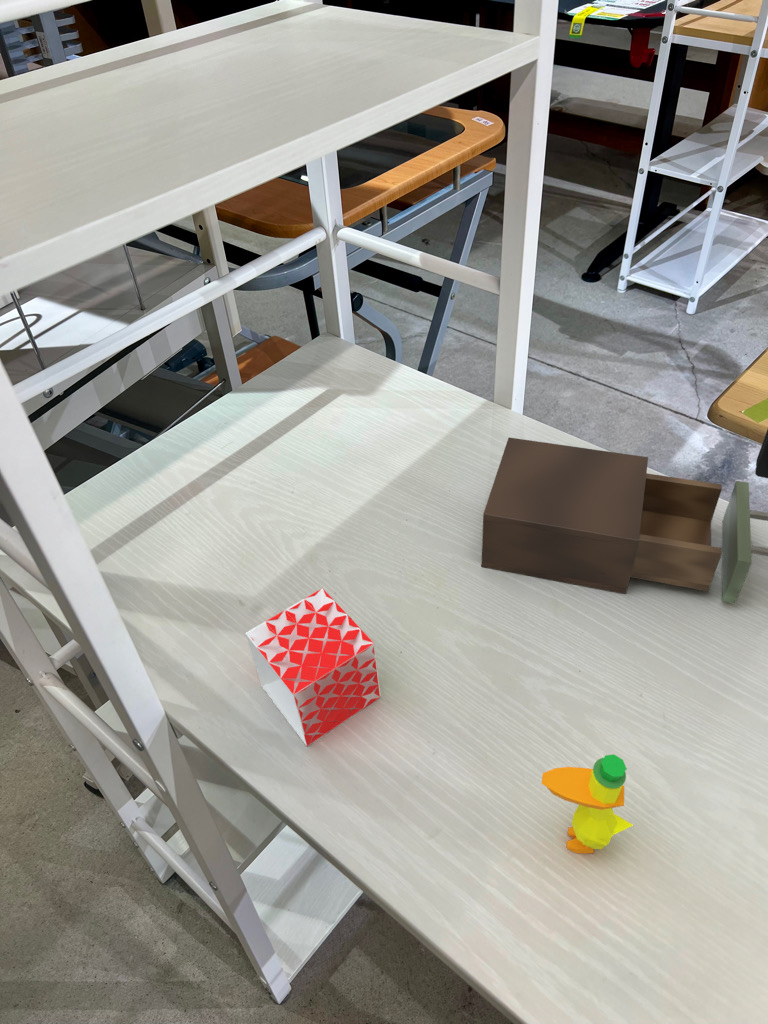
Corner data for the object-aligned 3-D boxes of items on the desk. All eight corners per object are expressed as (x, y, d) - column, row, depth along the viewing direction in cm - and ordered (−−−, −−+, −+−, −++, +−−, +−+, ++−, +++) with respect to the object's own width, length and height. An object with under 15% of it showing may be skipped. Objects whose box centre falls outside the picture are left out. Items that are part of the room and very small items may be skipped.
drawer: (784, 531, 77) (802, 490, 73) (791, 614, 70) (812, 573, 66) (602, 502, 82) (610, 462, 78) (590, 577, 75) (598, 536, 71)
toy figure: (531, 854, 56) (544, 776, 48) (535, 809, 59) (548, 728, 50) (624, 874, 55) (654, 797, 47) (624, 827, 57) (653, 746, 49)
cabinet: (636, 510, 82) (648, 456, 77) (625, 594, 74) (639, 540, 69) (505, 489, 86) (508, 437, 81) (481, 566, 78) (483, 513, 73)
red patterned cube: (380, 697, 67) (374, 643, 62) (307, 747, 64) (293, 695, 58) (331, 641, 72) (321, 587, 66) (261, 685, 69) (244, 632, 63)
